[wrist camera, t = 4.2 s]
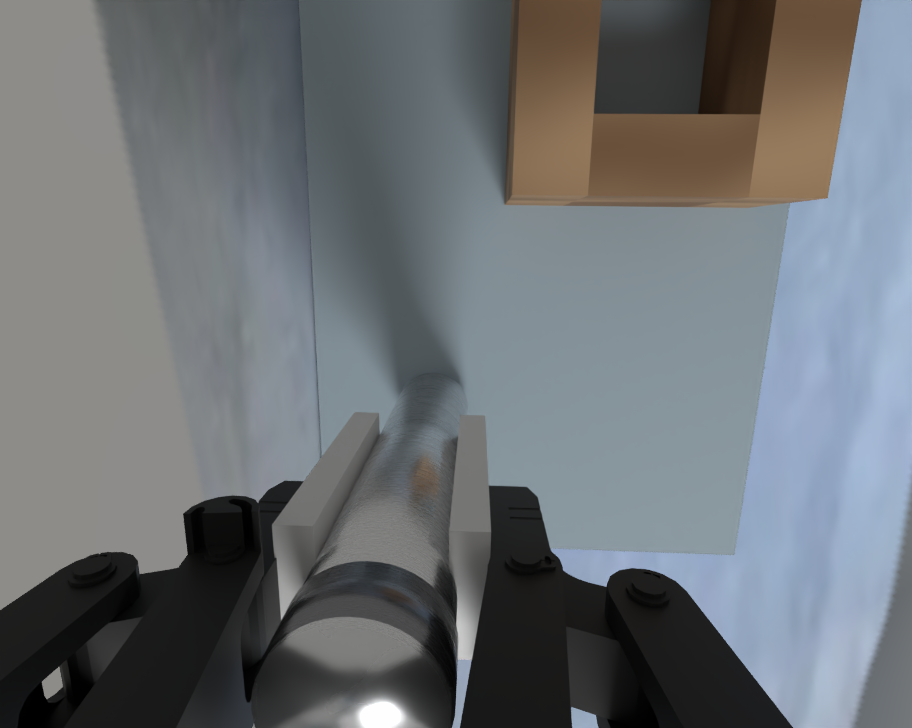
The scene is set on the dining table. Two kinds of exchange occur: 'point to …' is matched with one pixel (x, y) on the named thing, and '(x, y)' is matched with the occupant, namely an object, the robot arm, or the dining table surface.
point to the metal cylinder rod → (378, 588)
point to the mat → (534, 272)
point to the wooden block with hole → (681, 135)
